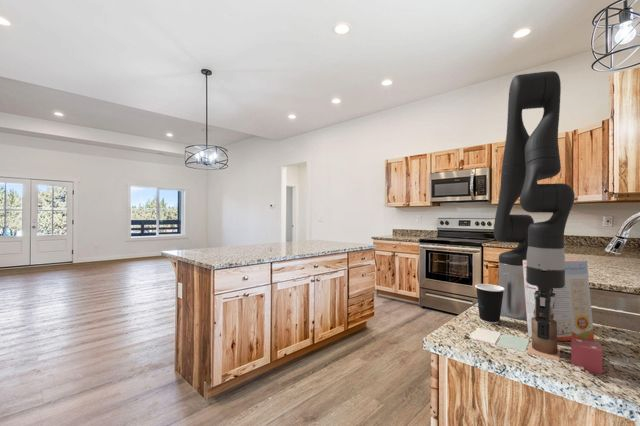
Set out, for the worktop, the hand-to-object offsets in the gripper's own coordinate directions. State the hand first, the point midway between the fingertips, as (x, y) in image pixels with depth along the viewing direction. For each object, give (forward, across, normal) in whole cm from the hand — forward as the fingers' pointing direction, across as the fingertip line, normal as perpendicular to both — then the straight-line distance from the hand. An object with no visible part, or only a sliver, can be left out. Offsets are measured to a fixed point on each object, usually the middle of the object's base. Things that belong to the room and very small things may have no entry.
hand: (544, 333), depth 73 cm
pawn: (+4, 0, 0) cm, 4 cm away
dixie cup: (+5, -13, -14) cm, 20 cm away
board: (+4, 0, -6) cm, 8 cm away
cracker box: (+4, -12, +2) cm, 13 cm away
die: (+5, +2, +8) cm, 9 cm away
